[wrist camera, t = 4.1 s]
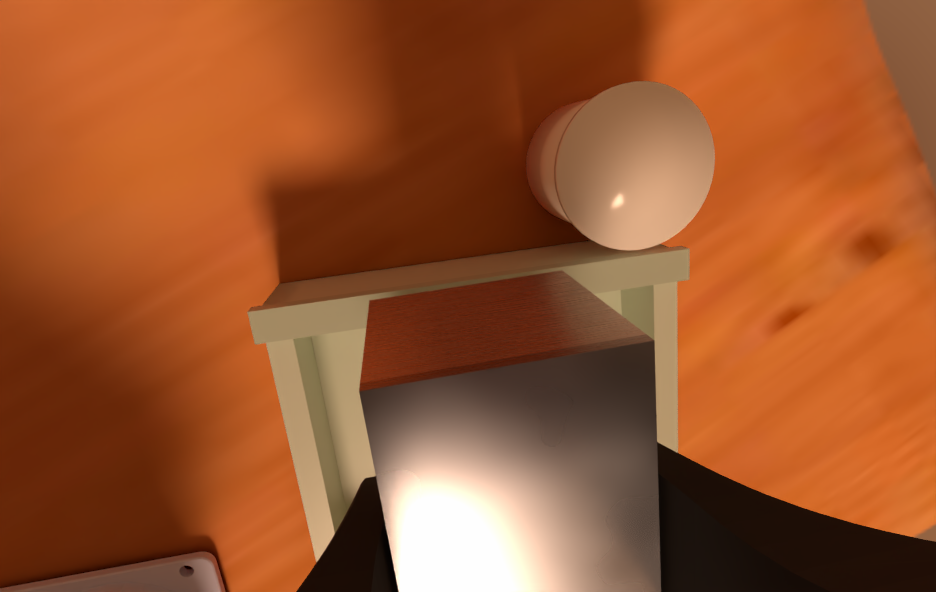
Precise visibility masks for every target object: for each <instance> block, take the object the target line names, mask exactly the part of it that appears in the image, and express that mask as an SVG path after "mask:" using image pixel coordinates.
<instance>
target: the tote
mask: <svg viewBox="0 0 936 592" xmlns="http://www.w3.org/2000/svg"><path fill="white" fill-rule="evenodd" d="M561 270H563V271H564V272H565V273H567V274H568V275H569V276H571V277H572V278H573V279H575V280H576V281H577V282H578V283H580V284H581V285H582V286H584V287H585V288H586V289H588V290H589V291H590V292H592V293H593V294H594V295H596V296H597V297H598V298H599V299H601V300H602V301H603V302H605V303H606V304H607V305H609V306H610V307H611V308H613V309H614V310H615V311H617V312H618V313H619V314H620V315H622V316H623V317H624V318H626V319H627V320H628V321H630V322H631V323H632V324H634V325H635V326H636V327H638V328H639V329H640V330H641V331H643V332H644V333H645V334H647V335H648V336H649V337H651V338H652V339H653V340H655V376H656V415H657V442H658V443H660V444H662V445H664V446H666V447H668V448H669V449H671V450H673V451H675V452H677V453H678V359H677V281H684V280H689V248H686V247H683V246H677V247H670V248H669V247H667V246H664V245H661V244H658V245H655V246H652V247H650V248H645V249H640V250H618V249H613V248H609V247H606V246H603V245H600V244H598V243H596V242H594V241H593V240H590V241H583V242H576V243H568V244H561V245H554V246H547V247H540V248H533V249H525V250H518V251H511V252H504V253H497V254H489V255H482V256H475V257H468V258H461V259H454V260H446V261H439V262H432V263H425V264H418V265H410V266H403V267H396V268H389V269H382V270H374V271H367V272H360V273H353V274H346V275H339V276H331V277H324V278H317V279H310V280H303V281H295V282H288V283H281V284H279V285H278V286H277V287H276V289H275V290H274V291H273V292H272V294H271V295H270V296H269V298H268V299H267V300H266V301H265V303H264V304H263V305H262V306H256V307H251V308H250V310H249V311H248V317H249V321H250V325H251V329H252V334H253V338H254V342H255V344H262V343H266V345H267V349H268V354H269V358H270V363H271V367H272V371H273V376H274V380H275V384H276V389H277V393H278V397H279V402H280V406H281V410H282V415H283V419H284V423H285V428H286V432H287V437H288V441H289V445H290V450H291V454H292V458H293V463H294V467H295V471H296V476H297V480H298V484H299V489H300V493H301V497H302V502H303V506H304V510H305V515H306V519H307V524H308V528H309V532H310V537H311V541H312V545H313V550H314V554H315V558H316V563H317V561H318V560H319V558H320V557H321V555H322V554H323V552H324V551H325V549H326V548H327V546H328V544H329V543H330V541H331V539H332V538H333V536H334V534H335V532H336V531H337V529H338V527H339V525H340V524H341V522H342V520H343V518H344V517H345V515H346V513H347V511H348V509H349V507H350V505H351V503H352V501H353V499H354V497H355V495H356V493H357V491H358V489H359V487H360V484H361V483H362V481H363V480H364V479H365V478H369V477H374V476H376V474H375V469H374V464H373V459H372V454H371V449H370V444H369V439H368V434H367V429H366V424H365V419H364V414H363V409H362V404H361V399H360V394H359V387H360V378H361V370H362V361H363V352H364V343H365V335H366V326H367V317H368V309H369V300H375V299H382V298H388V297H394V296H401V295H407V294H414V293H420V292H426V291H433V290H439V289H446V288H452V287H458V286H465V285H471V284H477V283H484V282H490V281H497V280H503V279H509V278H516V277H522V276H529V275H535V274H541V273H548V272H554V271H561Z"/></svg>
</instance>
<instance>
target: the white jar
mask: <svg viewBox="0 0 936 592" xmlns="http://www.w3.org/2000/svg"><path fill="white" fill-rule="evenodd" d="M714 164H715V152H714V144H713V138H712V135H711V131H710V128H709V126H708V124H707V121H706V119H705V117H704V116H703V114H702V113H701V111H700V110H699V108H698V107H697V106H696V105H695V104H694V103H693V101H692V100H690V99H689V98H688V97H687V96H686V95H685V94H683V93H681V92H680V91H678V90H677V89H675V88H672V87H670V86H668V85H665V84H661V83H657V82H650V81H635V82H629V83H624V84H620V85H617V86H614V87H611V88H608V89H606V90H604V91H602V92H600V93H599V94H597V95H596V96H594V97H593V98H591V99H588V100H583V101H579V102H574V103H571V104H568V105H565V106H563V107H561V108H559V109H557V110H556V111H554V112H553V113H551V114H550V115H549V116H548V117H547V118H545V120H544V121H543V122H542V123H541V124H540V125H539V127H538V128H537V130H536V131H535V133H534V135H533V137H532V139H531V141H530V144H529V147H528V151H527V157H526V174H527V180H528V183H529V187H530V189H531V191H532V193H533V195H534V197H535V198H536V200H537V201H538V203H539V204H540V205H541V206H542V207H543V208H544V209H545V210H546V211H548V212H549V213H550V214H552V215H554V216H555V217H557V218H559V219H562V220H564V221H566V222H568V223H571V224H572V225H573V226H574V227H575V228H576V229H577V230H578V231H579V232H580V233H582V234H583V235H584V236H586V237H587V238H589V239H591V240H593V241H594V242H596V243H598V244H600V245H603V246H606V247H609V248H613V249H618V250H640V249H645V248H650V247H652V246H655V245H658V244H660V243H662V242H664V241H666V240H668V239H670V238H671V237H673V236H674V235H676V234H677V233H679V232H680V231H681V230H682V229H683V228H684V227H686V225H687V224H688V223H689V222H690V221H691V220H692V219H693V218H694V216H695V215H696V214H697V212H698V211H699V209H700V208H701V206H702V204H703V203H704V201H705V199H706V196H707V194H708V192H709V189H710V186H711V182H712V178H713V173H714Z"/></svg>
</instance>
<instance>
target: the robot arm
mask: <svg viewBox="0 0 936 592" xmlns="http://www.w3.org/2000/svg"><path fill="white" fill-rule="evenodd" d="M657 454H658V493H659V532H660V571H661V592H936V542H934V541H928V540H923V539H918V538H914V537H909V536H905V535H900V534H895V533H891V532H886V531H882V530H878V529H874V528H870V527H866V526H862V525H858V524H854V523H851V522H847V521H844V520H840V519H837V518H834V517H830V516H827V515H823V514H820V513H817V512H814V511H810V510H807V509H804V508H801V507H798V506H796V505H793V504H790V503H787V502H785V501H782V500H779V499H777V498H774V497H771V496H769V495H766V494H763V493H761V492H759V491H756V490H754V489H751V488H749V487H747V486H744V485H742V484H740V483H738V482H736V481H733V480H731V479H729V478H727V477H724V476H722V475H720V474H718V473H716V472H714V471H712V470H710V469H708V468H706V467H704V466H702V465H700V464H698V463H696V462H694V461H692V460H690V459H688V458H686V457H684V456H683V455H681V454H679V453H677V452H675V451H673V450H671V449H669V448H668V447H666V446H664V445H662V444H660V443H658V442H657ZM184 566H190V567H192V568H193V569H186V568H185V567H184ZM0 592H226V591H225V588H224V585H223V581H222V578H221V574H220V571H219V567H218V564H217V561H216V558H215V557H214V556H213V555H212V554H211V553H208V552H195V553H190V554H184V555H179V556H174V557H168V558H163V559H157V560H152V561H146V562H141V563H136V564H130V565H125V566H119V567H114V568H108V569H103V570H97V571H92V572H87V573H81V574H76V575H70V576H65V577H59V578H54V579H49V580H43V581H38V582H32V583H27V584H21V585H16V586H10V587H5V588H0ZM296 592H399V590H398V585H397V580H396V575H395V570H394V565H393V560H392V555H391V550H390V545H389V540H388V535H387V530H386V525H385V520H384V515H383V510H382V504H381V499H380V494H379V489H378V484H377V479H376V476H374V477H369V478H365V479H364V480H363V481H362V483H361V484H360V487H359V489H358V491H357V493H356V495H355V497H354V499H353V501H352V503H351V505H350V507H349V509H348V511H347V513H346V515H345V517H344V518H343V520H342V522H341V524H340V525H339V527H338V529H337V531H336V532H335V534H334V536H333V538H332V539H331V541H330V543H329V544H328V546H327V548H326V549H325V551H324V552H323V554H322V555H321V557H320V558H319V560H318V561H317V563H316V564H315V566H314V567H313V569H312V570H311V572H310V573H309V575H308V576H307V578H306V579H305V581H304V582H303V583H302V585H301V586H300V587H299V589H298V590H297V591H296Z"/></svg>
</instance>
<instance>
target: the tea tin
mask: <svg viewBox="0 0 936 592" xmlns="http://www.w3.org/2000/svg"><path fill="white" fill-rule="evenodd" d="M359 394H360V399H361V404H362V409H363V414H364V419H365V424H366V429H367V434H368V439H369V444H370V449H371V454H372V459H373V464H374V469H375V474H376V479H377V484H378V489H379V494H380V499H381V504H382V510H383V515H384V520H385V525H386V530H387V535H388V540H389V545H390V550H391V555H392V560H393V565H394V570H395V575H396V580H397V585H398V590H399V592H661V571H660V532H659V493H658V454H657V415H656V376H655V340H653V339H652V338H651V337H649V336H648V335H647V334H645V333H644V332H643V331H641V330H640V329H639V328H638V327H636V326H635V325H634V324H632V323H631V322H630V321H628V320H627V319H626V318H624V317H623V316H622V315H620V314H619V313H618V312H617V311H615V310H614V309H613V308H611V307H610V306H609V305H607V304H606V303H605V302H603V301H602V300H601V299H599V298H598V297H597V296H596V295H594V294H593V293H592V292H590V291H589V290H588V289H586V288H585V287H584V286H582V285H581V284H580V283H578V282H577V281H576V280H575V279H573V278H572V277H571V276H569V275H568V274H567V273H565V272H564V271H563V270H561V271H554V272H548V273H541V274H535V275H529V276H522V277H516V278H509V279H503V280H497V281H490V282H484V283H477V284H471V285H465V286H458V287H452V288H446V289H439V290H433V291H426V292H420V293H414V294H407V295H401V296H394V297H388V298H382V299H375V300H369V309H368V317H367V326H366V335H365V343H364V352H363V361H362V370H361V378H360V387H359Z"/></svg>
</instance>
